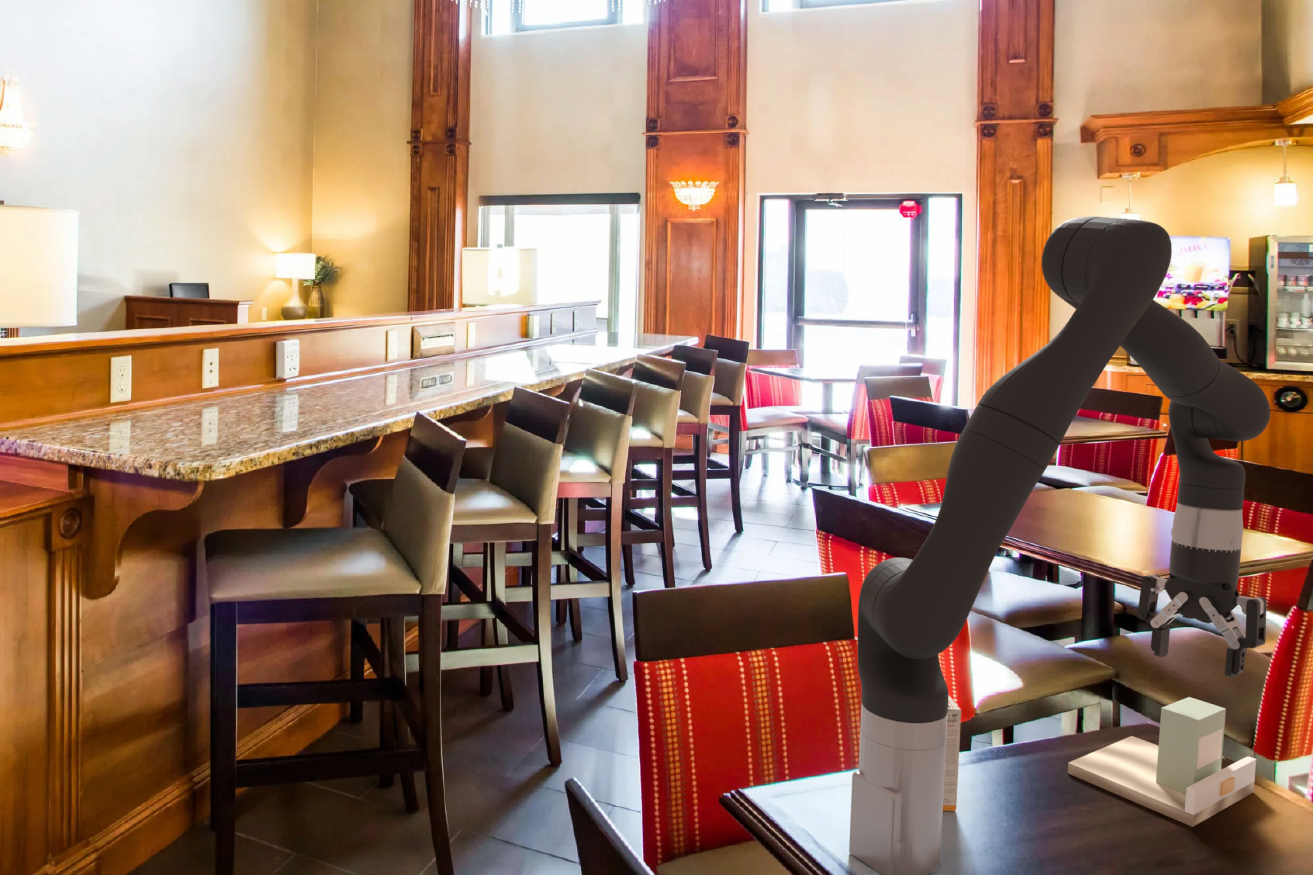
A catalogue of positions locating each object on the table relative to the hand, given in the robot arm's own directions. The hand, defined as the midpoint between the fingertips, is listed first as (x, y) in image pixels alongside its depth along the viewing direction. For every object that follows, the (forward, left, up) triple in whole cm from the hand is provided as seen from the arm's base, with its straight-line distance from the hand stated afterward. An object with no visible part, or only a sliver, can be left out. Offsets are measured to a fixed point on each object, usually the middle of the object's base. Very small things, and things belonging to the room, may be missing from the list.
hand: (1194, 665), depth 113 cm
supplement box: (-29, +17, -17) cm, 38 cm away
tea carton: (0, 0, -16) cm, 16 cm away
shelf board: (0, +3, -17) cm, 17 cm away
